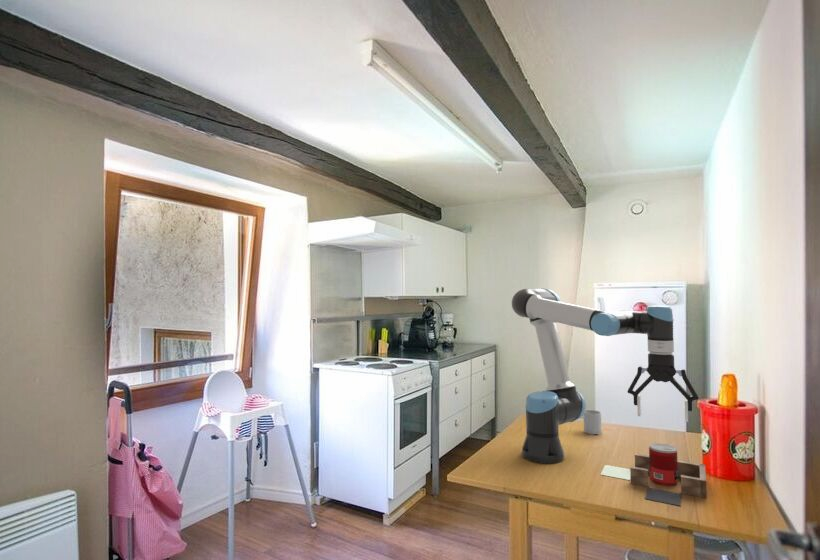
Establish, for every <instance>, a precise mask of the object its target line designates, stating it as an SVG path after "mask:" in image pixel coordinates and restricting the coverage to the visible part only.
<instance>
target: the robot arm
mask: <svg viewBox="0 0 820 560" xmlns="http://www.w3.org/2000/svg"><path fill="white" fill-rule="evenodd" d="M511 298H512V299H511V308H512V310H513V312H514V313H515V314H516V315H517V316H519V317H522V318H526V319H529V322H530V325H532V326H534V327H535V332H536V337H537V340H538V341H537V342H538V346H539V349H540V354H541V359H542V362H543V367H544V374H545V376H546V381H547V386H546V387H545V390H541V391H533V392H531V393H529V394H528V395H527V396H526V398H525V419H526V420H525V421H526V423H525V424H526V425H525V426H526V428H525V429H526V435H525V438H524V441H523V444H522V449H521V453H522V454H521V455H522V457H523V458H525V459H526V460H528V461H531V462H535V463H539V464H557V463H560V462H563V460H564V459H565V452H564V451H565V450H564V449H563V445H562V443H561V440H560V437H559V436H560V435H559V425H564V424H567V423H572V422H573V423H574V422H575V421H577V420H579V419H581V418H582V417H583V416H584V412H585V410H586V407H587V406H586V399H585V398H584V395H583V394H581V392H580V391H578V390H577V388H576V384H575V383H573V382H572V381H571V379H570V376H569V372H568V365H567V362H566V358H565V355H564V350H563V346H562V341H561V338H560V332H559V329H558V325H557V323H558V324H563V325H567V326H571V327H574V328H580V329H583V330H587V331H591V332H594V333H595V334H597V335H599V336H603V337H610V336H611V337H612V336H616V335H625V334H642V335H643V334H645V335H647V351H648V354H647V364H648V365H647V366H646V367H645V366H642V365H638V367H637V372H636V375H635V377H634V378H633V380H632V382H631V384H630V386H629V387H628V389H627V394H630V395H632V396H633V404H634V405H633V406H637V407H636V408H637V417H641V416H642V406H641V405H642V404H641V399H642V397H641V396H642V395H640V393H641V392H642V391H643V390H644V389H645V388H646V387H647V386H648V385H649V384H650V383H652V381H654V382H657V383H659V382H663V383H668V382H670V383H671V384H672V385H673V386H674V387H675V388H676V389H677V390H678V392H679V393H680V394H681V395H682V396H683V398H685V399H684V412H685V413H684V414H685V416H684V418H685V423H689V412H692V411H693V401H695V400H696V401H697V400H699V395H698V393H697V391H696V389H695V388H694V386H693V385H692V383H691V381H690V379H689V378H688V376H687V372H686V369H685V368H681V369H676V367H675V355H674V352H675V344H674V343H675V342H674V316H673V315H674V314H673V309H672V308H671V306H669V305H648V306H647V307H646V310H645V311H627V310H617V311H605V310H602V309H595V308H590V307H587V306H580V305H577V304H571V303H568V302H567V303H566V302H562V301H561V298H560V296H559V294H557V293H556V292H555V291H553V290H551V289H549V288H548V289H547V288H523V289H521V290H518V291H517V292H516V293H515V294H514V295H513V297H511ZM645 372H647V374H648V375H649V376H648V377H647V378H646V379H645V380H644V381H643V382H642V384H640V385H639V387H637V388H636V390H634V389H635V387H636V385H637V383H638V381H639V379H640V377H641V376H642V374H644V373H645ZM676 374H677V375H678V376H679V377H681V378H682V380H683V382H684V383H685V385H686V387H687V388H688V390H689V392H690V394H691V395H690V394H689V393H688V392H687V390H686V389H685V388H684V387H683V386H682V385H681V384H680V383H679V382H678V381H677V380H676V378H674V376H675V375H676Z"/></svg>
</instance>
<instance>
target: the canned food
mask: <svg viewBox="0 0 820 560" xmlns="http://www.w3.org/2000/svg"><path fill="white" fill-rule="evenodd" d="M648 451H649V452H648V456H649V462H650V472H649V477H650V480H651V481H652V482H653V483H655V484H659V485H660V486H661V485H662V486H670V487H671V486H676V485H677V484H678V483H679V482H678V481H679V477H678V463H677V460H678V449H677V447H675V446H673V445H670V444H666V443H651V444H649V446H648Z"/></svg>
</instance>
